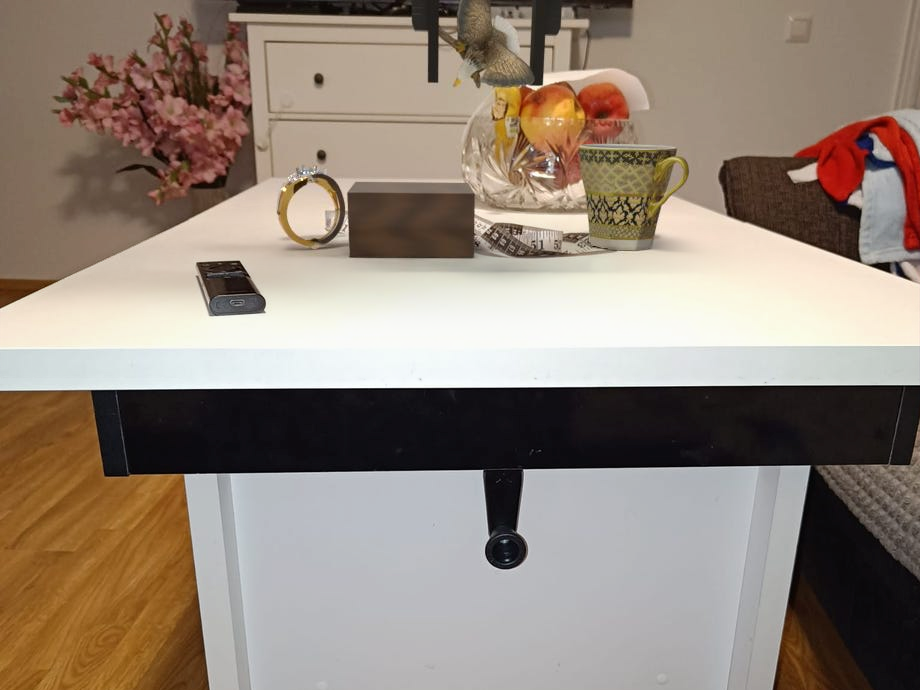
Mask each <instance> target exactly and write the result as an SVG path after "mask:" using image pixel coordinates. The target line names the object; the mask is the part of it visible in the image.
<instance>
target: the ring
mask: <svg viewBox="0 0 920 690" xmlns="http://www.w3.org/2000/svg"><path fill="white" fill-rule="evenodd" d="M320 169H321V167H320V166H319V165H313V164H312V165H311V164H310V165H308V169H306V164H301V171H300V166H296V167H295V173H292V174H291V175H289V176H288V177H287V178H285V180H284V181H283V183H282V184H281V186H280V187H279V191H278V195H277V200H276V216H277V220H278V224H279V226H280V228H281V229H282V231H283V232H284V234H285V235H286V236H287V237H288V238H289V239H290V240H291V241H293V242H294V243H297V244H298V245H300V246H304V247H308V248H309V249H312V250H316V249H317V250H318V249H319V247H321V246H325V245H327V244H328V243H329V242H332V241H333V240H334V239H335V238H336V237H337V235H338V234H339V233H340V231H341V230H342V228H343V225H344V222H345V218H346V203H345V198H344V195H343V192H342V189H341V187H340V186H339V184H338V182H337V181H336V180H335V179H334V178H333V177H331V176H330V175H328V174H327V169H328V168H323V169H322V171H320ZM308 184H316V185H317V186H319V187H320V188H322V189H323V190H324V191H325V192H326V193H327V194H328V195H329V197H330V198H331V200H332V202H333V206H334V213H335V214H334V221H333V223H332V226H331V228H330V229H329V230H328V232H326V234H324V235H323V236H320V237H318V238H317V237H315V236H314V237H313V236H310V237H308V238H307V239H305V238H304V237H303V238H302V237H300V235H298V234H296V233H295V232H294V230H293V229H292V227H291V226H290V223H289V219H288V207H289V205H290V201H291V200H292V198H293V196H294V195H295V194H296V193H297V192H298V191H299V190H301V189H302V188H304V187H305V186H307V185H308Z"/></svg>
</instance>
